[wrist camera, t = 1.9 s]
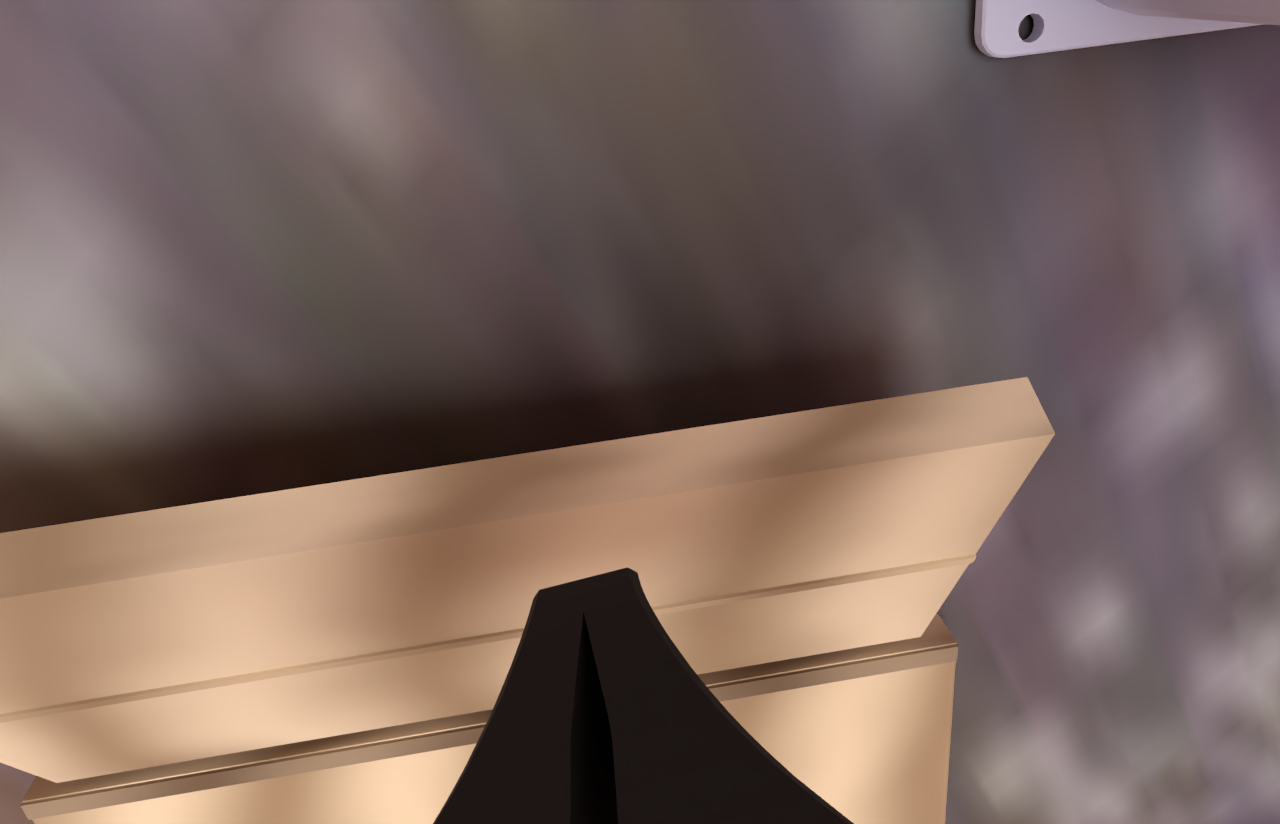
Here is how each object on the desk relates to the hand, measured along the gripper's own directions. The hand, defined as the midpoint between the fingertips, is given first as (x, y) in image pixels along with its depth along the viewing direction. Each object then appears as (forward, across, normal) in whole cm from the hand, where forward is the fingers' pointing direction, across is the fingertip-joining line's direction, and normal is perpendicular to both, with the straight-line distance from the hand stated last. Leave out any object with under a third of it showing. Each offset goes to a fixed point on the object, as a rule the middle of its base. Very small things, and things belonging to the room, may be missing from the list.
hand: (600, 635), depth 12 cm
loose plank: (+7, +3, +3) cm, 8 cm away
